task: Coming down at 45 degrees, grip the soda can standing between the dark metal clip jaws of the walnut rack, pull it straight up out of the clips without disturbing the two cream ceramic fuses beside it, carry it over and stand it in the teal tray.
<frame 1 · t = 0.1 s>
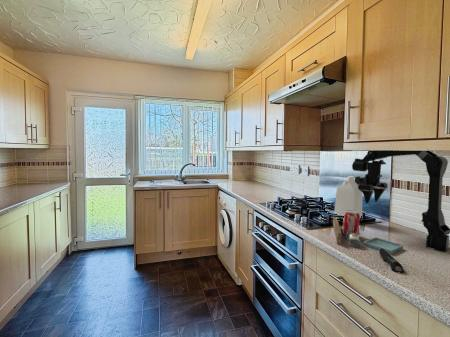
hand: (371, 202, 129), 15 cm above the worktop, tool pointing down, fingers open, 9 cm apart
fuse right: (347, 228, 131), on the worktop
clip rack: (350, 235, 120), on the worktop
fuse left: (353, 244, 109), on the worktop
tray: (382, 247, 106), on the worktop
soda can: (350, 236, 120), on the worktop
electric trimmer: (389, 264, 92), on the worktop
milk: (347, 219, 148), on the worktop
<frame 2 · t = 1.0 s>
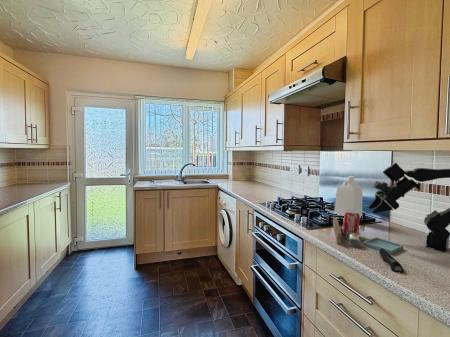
hand: (371, 210, 116), 13 cm above the worktop, tool tilted 45°, fingers open, 9 cm apart
nothing on the worktop moved.
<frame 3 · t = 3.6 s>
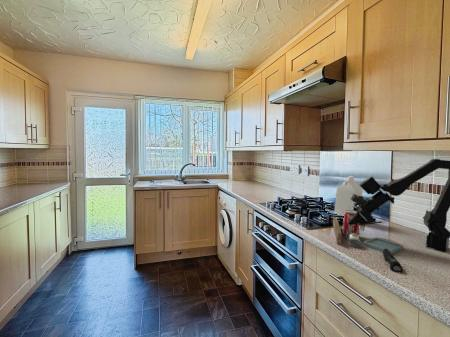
hand: (348, 222, 120), 7 cm above the worktop, tool tilted 45°, fingers closed on soda can, 7 cm apart
soda can: (350, 236, 120), on the worktop, touching gripper
when the fingers open (9 cm above the worktop, at t = 8.1 s): soda can drops 1 cm, resting on tray.
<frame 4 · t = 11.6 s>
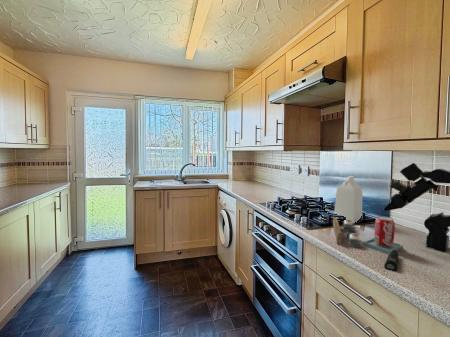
hand: (387, 208, 120), 14 cm above the worktop, tool tilted 45°, fingers open, 9 cm apart
soda can: (383, 245, 106), point 1 cm above the worktop, touching tray
at the end: soda can inside the target area on the tray (0.3 cm from its centre), point 0.6 cm above the tray's base; soda can tilted 0°; the gripper is holding nothing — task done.
